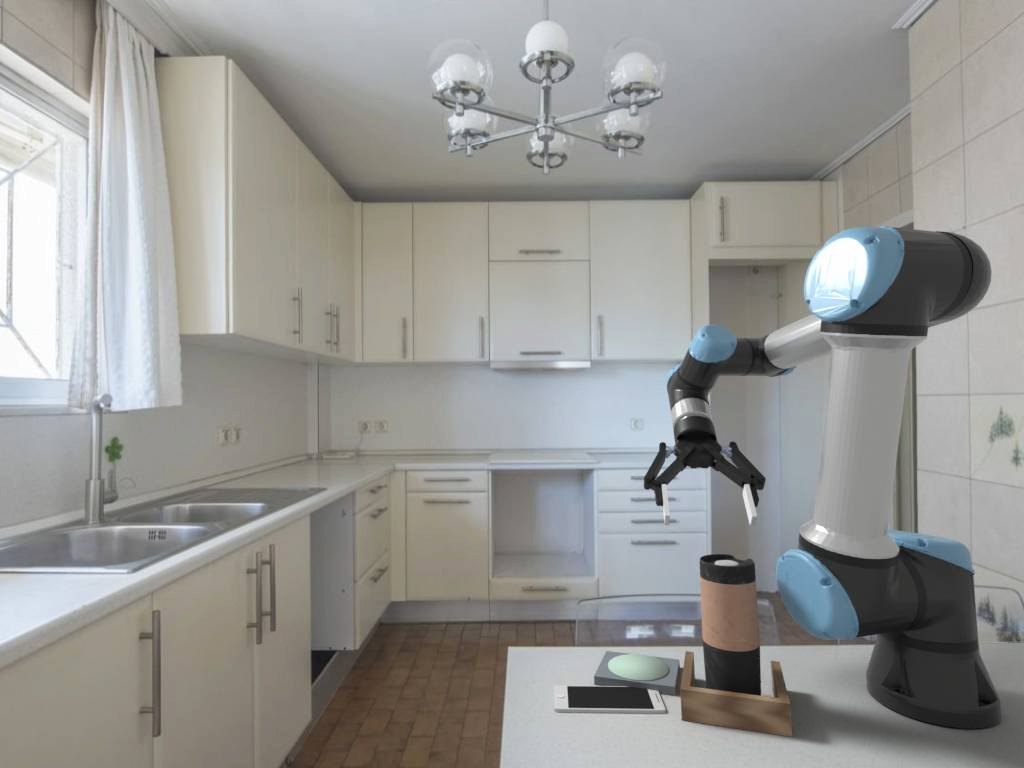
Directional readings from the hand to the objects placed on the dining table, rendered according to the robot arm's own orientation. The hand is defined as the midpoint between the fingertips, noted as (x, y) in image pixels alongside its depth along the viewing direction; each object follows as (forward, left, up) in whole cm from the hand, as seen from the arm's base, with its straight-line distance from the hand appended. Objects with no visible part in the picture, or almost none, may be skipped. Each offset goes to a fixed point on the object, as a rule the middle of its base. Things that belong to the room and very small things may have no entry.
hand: (709, 521), depth 92 cm
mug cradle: (-2, +11, -24) cm, 26 cm away
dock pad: (+12, +6, -24) cm, 27 cm away
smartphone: (+15, +15, -24) cm, 32 cm away
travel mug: (-2, +11, -24) cm, 26 cm away
